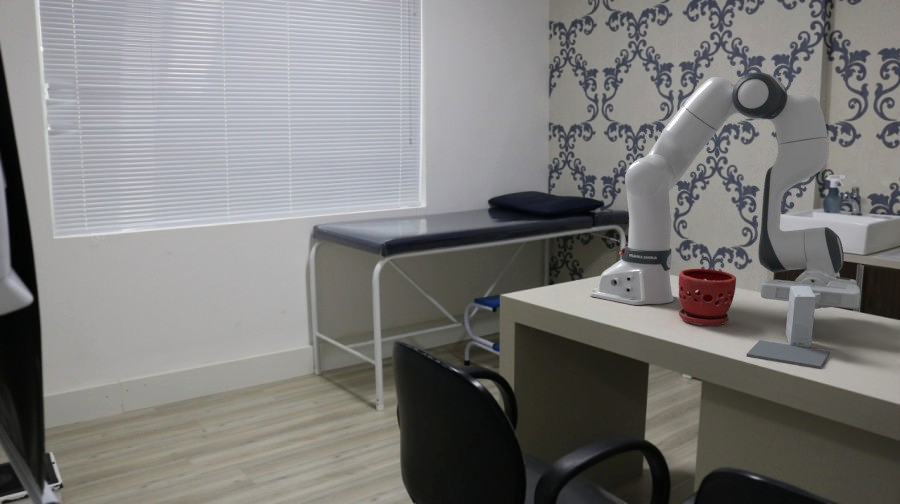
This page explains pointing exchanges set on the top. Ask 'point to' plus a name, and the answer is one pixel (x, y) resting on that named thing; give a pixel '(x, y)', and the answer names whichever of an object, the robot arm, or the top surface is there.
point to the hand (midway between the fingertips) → (804, 299)
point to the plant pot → (706, 296)
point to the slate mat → (789, 354)
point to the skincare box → (800, 316)
